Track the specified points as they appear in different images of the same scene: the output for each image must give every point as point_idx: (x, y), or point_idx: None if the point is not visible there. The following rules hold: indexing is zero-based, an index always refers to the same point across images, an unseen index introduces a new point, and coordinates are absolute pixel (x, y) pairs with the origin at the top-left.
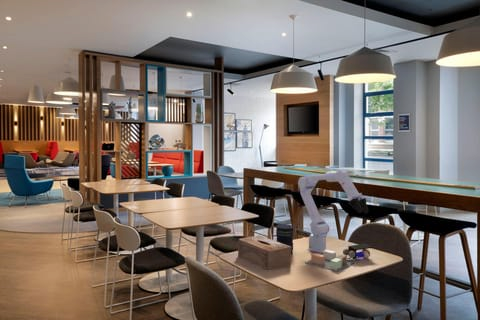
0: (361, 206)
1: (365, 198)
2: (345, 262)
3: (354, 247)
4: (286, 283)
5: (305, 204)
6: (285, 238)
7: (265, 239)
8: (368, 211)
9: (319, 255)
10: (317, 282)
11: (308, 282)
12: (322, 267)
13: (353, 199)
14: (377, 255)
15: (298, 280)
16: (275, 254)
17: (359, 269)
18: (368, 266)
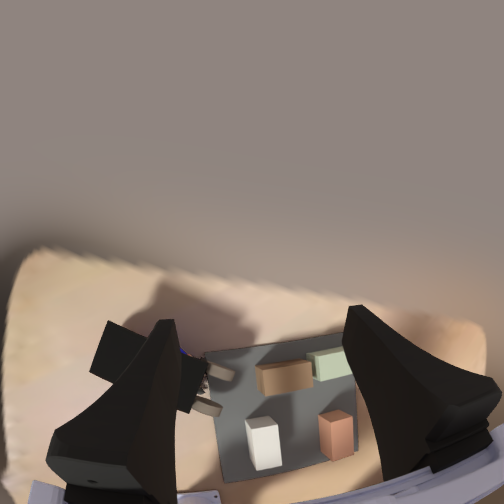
0: (169, 433)
1: (69, 448)
2: (268, 364)
3: (185, 382)
4: (478, 355)
5: None
6: None
7: None
8: (162, 321)
9: (343, 433)
10: (441, 317)
11: (452, 331)
12: (355, 390)
13: (485, 419)
14: (53, 326)
15: (457, 354)
16: None
17: (272, 298)
18: (212, 291)
